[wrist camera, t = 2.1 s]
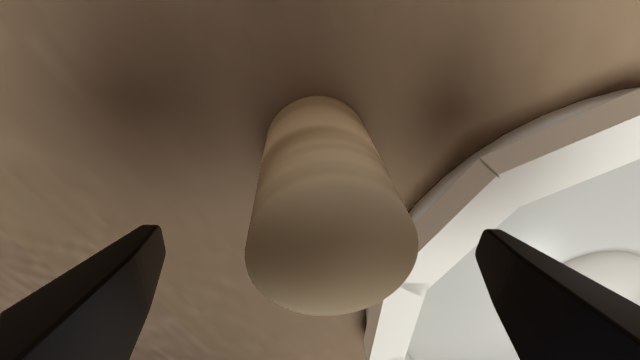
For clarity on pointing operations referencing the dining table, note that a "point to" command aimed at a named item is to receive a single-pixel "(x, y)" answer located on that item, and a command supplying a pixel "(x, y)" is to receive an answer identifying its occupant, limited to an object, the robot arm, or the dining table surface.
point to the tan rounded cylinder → (326, 214)
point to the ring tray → (519, 227)
